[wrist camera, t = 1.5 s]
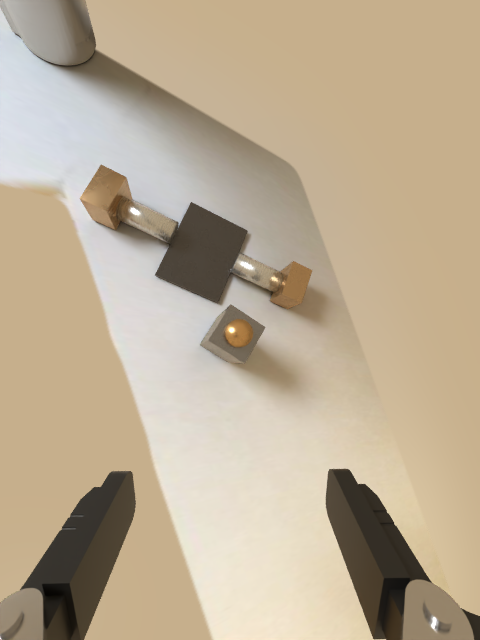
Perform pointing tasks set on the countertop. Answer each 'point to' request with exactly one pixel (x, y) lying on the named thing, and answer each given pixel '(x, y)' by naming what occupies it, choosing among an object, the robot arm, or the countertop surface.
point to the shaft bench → (192, 244)
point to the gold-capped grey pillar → (233, 335)
